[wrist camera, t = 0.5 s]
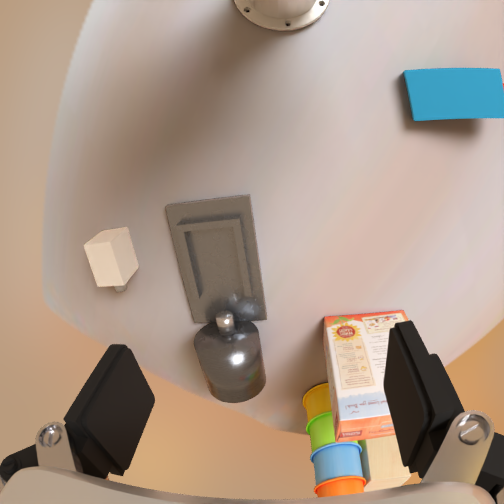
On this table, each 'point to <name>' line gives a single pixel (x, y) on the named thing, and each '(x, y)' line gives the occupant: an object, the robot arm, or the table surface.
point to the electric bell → (223, 291)
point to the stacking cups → (331, 449)
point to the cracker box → (359, 373)
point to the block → (112, 258)
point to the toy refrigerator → (382, 463)
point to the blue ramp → (455, 93)
